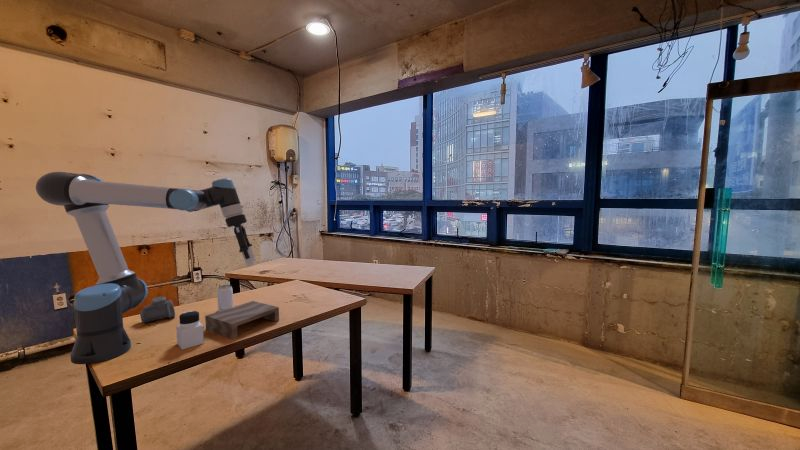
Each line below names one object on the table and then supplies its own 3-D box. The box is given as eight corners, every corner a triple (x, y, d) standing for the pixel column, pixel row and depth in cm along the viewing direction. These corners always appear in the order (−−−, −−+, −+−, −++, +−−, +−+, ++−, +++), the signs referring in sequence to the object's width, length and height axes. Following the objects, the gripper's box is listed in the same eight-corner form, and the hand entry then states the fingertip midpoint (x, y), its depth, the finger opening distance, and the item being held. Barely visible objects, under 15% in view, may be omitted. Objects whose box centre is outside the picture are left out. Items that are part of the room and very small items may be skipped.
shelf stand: (205, 329, 128) (205, 315, 128) (253, 313, 147) (252, 300, 147) (232, 339, 120) (232, 324, 119) (279, 320, 139) (278, 307, 138)
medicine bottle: (204, 343, 116) (203, 312, 115) (181, 350, 110) (180, 317, 110) (199, 337, 121) (197, 307, 120) (176, 343, 115) (175, 312, 114)
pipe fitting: (174, 312, 146) (170, 292, 144) (177, 318, 141) (173, 298, 138) (141, 322, 138) (137, 301, 136) (143, 329, 133) (138, 307, 130)
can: (236, 309, 152) (235, 285, 151) (222, 313, 147) (221, 289, 146) (228, 307, 155) (227, 284, 155) (215, 311, 150) (214, 287, 149)
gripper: (241, 213, 118) (260, 264, 121) (246, 213, 141) (261, 256, 144) (220, 218, 115) (239, 271, 118) (228, 218, 138) (244, 262, 141)
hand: (251, 263), depth 131 cm, fingers open, 13 cm apart
